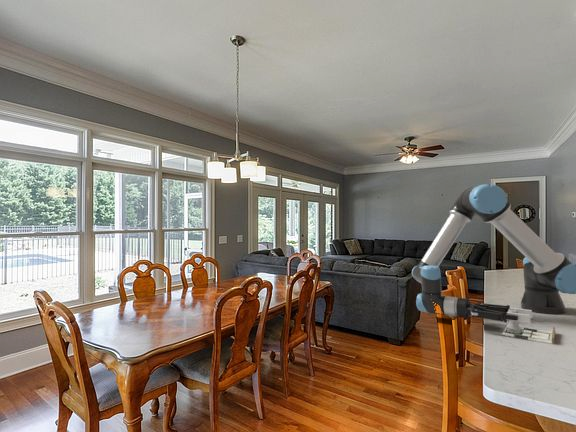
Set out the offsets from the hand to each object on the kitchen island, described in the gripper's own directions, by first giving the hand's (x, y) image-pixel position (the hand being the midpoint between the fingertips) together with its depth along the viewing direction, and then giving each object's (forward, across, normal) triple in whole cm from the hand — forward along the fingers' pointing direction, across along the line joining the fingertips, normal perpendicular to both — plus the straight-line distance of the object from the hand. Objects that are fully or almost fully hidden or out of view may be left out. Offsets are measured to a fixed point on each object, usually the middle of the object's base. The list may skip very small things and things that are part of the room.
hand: (530, 316), depth 110 cm
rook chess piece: (-5, 0, -6) cm, 8 cm away
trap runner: (-1, 0, -6) cm, 6 cm away
